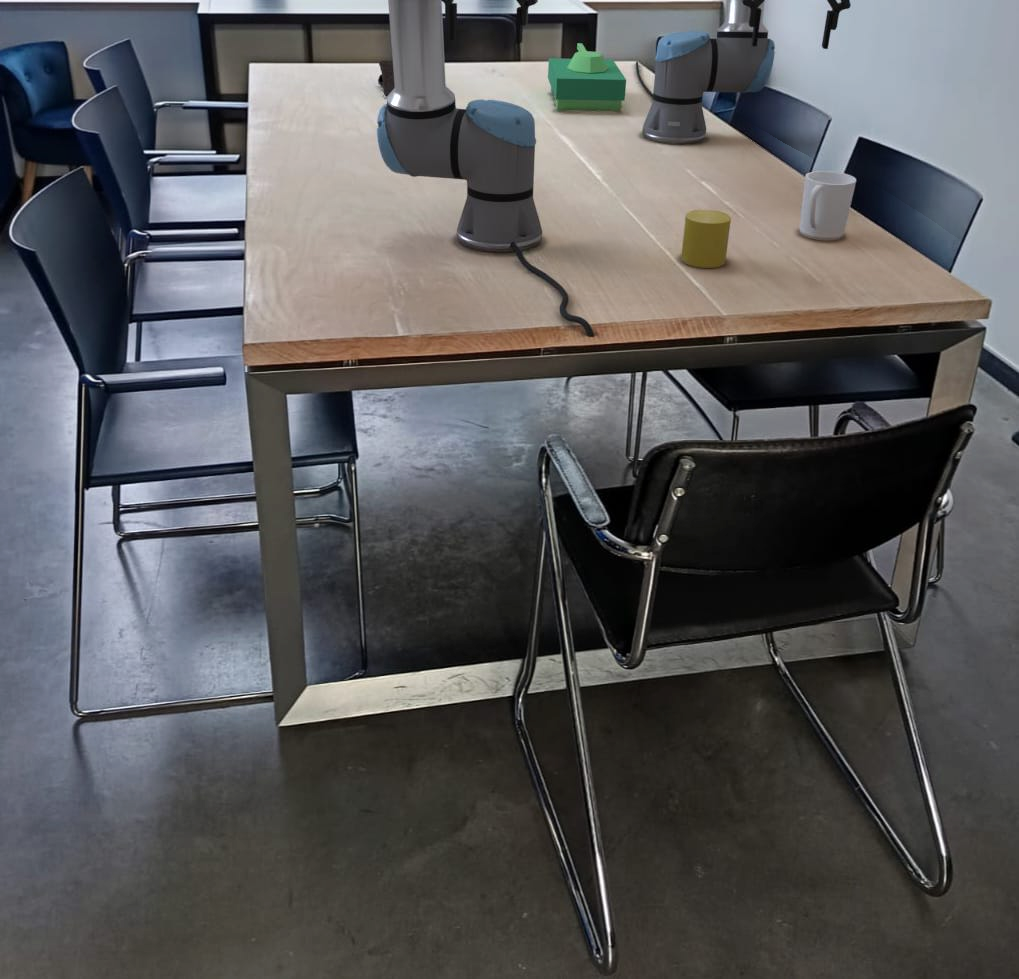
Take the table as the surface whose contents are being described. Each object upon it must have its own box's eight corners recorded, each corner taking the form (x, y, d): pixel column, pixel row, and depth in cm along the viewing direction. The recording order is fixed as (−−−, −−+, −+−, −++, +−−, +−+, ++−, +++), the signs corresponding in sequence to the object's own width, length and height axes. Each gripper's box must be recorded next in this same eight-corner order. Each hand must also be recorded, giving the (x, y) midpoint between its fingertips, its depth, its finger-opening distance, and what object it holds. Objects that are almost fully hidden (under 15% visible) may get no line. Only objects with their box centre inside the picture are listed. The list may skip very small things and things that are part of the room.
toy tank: (610, 40, 305) (627, 64, 275) (607, 86, 311) (623, 114, 282) (547, 38, 304) (557, 62, 274) (545, 84, 310) (555, 113, 281)
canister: (702, 250, 194) (707, 206, 190) (734, 262, 189) (740, 218, 185) (672, 258, 190) (676, 214, 186) (703, 271, 185) (709, 226, 181)
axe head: (443, 87, 294) (392, 77, 287) (436, 115, 299) (385, 106, 292) (421, 62, 307) (371, 52, 300) (414, 89, 311) (365, 80, 304)
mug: (809, 222, 208) (818, 168, 202) (854, 233, 203) (864, 177, 197) (782, 236, 200) (791, 180, 195) (827, 247, 195) (838, 190, 190)
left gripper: (554, -77, 210) (550, 41, 221) (430, -82, 215) (431, 34, 226) (547, -74, 204) (543, 47, 215) (419, -79, 209) (421, 40, 219)
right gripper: (741, -76, 199) (726, 47, 210) (880, -72, 198) (857, 52, 209) (737, -80, 205) (723, 40, 217) (872, -76, 204) (850, 45, 215)
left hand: (486, 41), depth 220 cm, fingers open, 13 cm apart
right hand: (789, 46), depth 213 cm, fingers open, 13 cm apart
